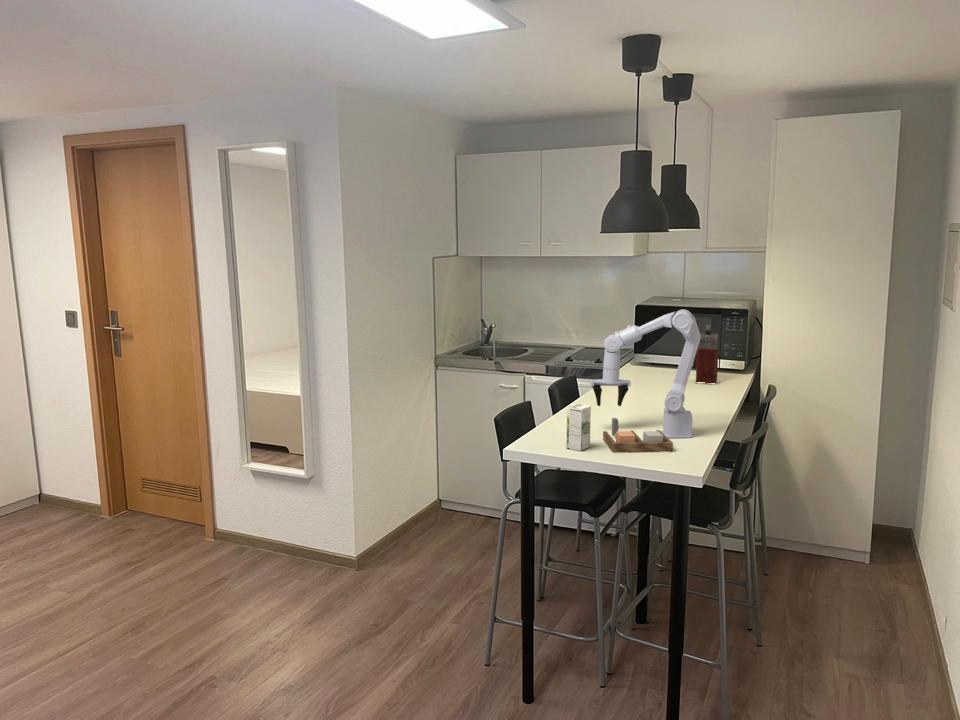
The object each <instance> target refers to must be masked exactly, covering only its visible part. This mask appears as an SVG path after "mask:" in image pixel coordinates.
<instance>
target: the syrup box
mask: <svg viewBox="0 0 960 720" xmlns="http://www.w3.org/2000/svg"><path fill="white" fill-rule="evenodd" d="M591 410H592V407H591V405H587V404H584V403H575V404H572V405H569V406H567V410H566V411H567V412H566V415H567V416H566V418H567V419H566V449H567V448H569V450H572V449H573V450H572V451H577V452H578V451H579V452H582V451H584V450H587V449H589V448H590V447H591V442H590V441H591V416H592V415H591V414H592V413H591V412H592V411H591Z"/></svg>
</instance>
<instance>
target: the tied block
mask: <svg viewBox="0 0 960 720" xmlns="http://www.w3.org/2000/svg"><path fill="white" fill-rule="evenodd" d="M631 431H632V430H624V431H623V430H621V431H619V419H618V418H617V417H611V436H612V435H613V436H615V437H614V438H615V442H616V443H635V435H634V434H633V433H632V432H631ZM613 436H612V437H613Z"/></svg>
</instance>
